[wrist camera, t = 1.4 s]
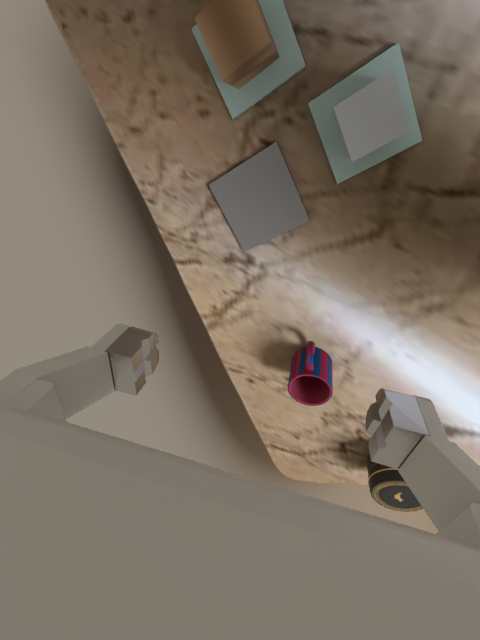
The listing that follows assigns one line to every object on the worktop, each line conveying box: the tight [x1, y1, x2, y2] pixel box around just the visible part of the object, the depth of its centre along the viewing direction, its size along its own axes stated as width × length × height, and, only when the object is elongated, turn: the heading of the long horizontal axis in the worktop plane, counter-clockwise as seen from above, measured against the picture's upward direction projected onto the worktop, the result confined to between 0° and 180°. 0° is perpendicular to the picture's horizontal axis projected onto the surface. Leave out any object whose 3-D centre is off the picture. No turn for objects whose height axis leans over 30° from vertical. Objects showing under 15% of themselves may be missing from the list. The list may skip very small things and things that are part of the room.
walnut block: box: [194, 0, 279, 89], centre depth 27 cm, size 5×5×6 cm
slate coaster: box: [209, 142, 310, 252], centre depth 38 cm, size 10×10×1 cm
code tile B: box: [308, 42, 422, 184], centre depth 31 cm, size 9×9×1 cm
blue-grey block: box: [333, 69, 409, 162], centre depth 28 cm, size 5×5×6 cm
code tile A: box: [191, 0, 306, 119], centre depth 30 cm, size 9×9×1 cm
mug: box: [288, 341, 332, 406], centre depth 46 cm, size 7×10×7 cm
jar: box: [367, 454, 423, 512], centre depth 54 cm, size 10×10×8 cm
